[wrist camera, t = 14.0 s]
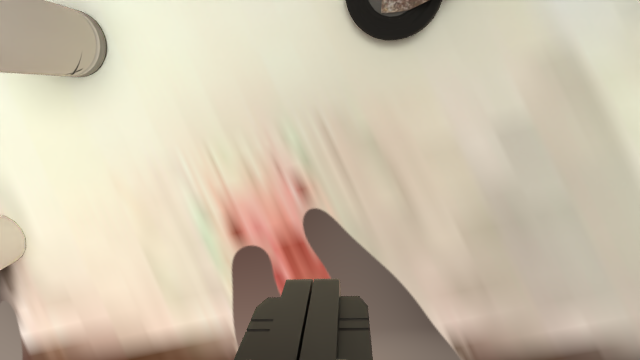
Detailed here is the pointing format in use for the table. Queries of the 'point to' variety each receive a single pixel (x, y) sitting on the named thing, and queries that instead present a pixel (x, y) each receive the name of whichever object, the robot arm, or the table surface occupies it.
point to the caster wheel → (392, 16)
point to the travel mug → (48, 39)
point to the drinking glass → (10, 242)
